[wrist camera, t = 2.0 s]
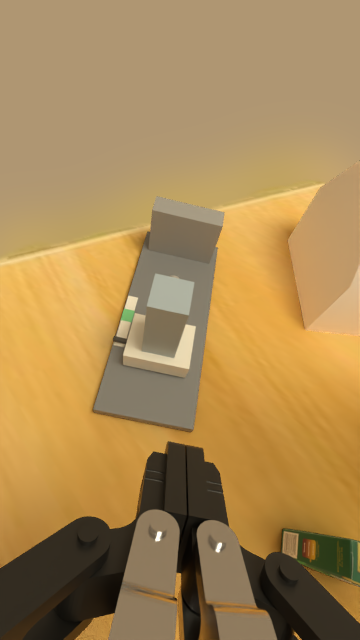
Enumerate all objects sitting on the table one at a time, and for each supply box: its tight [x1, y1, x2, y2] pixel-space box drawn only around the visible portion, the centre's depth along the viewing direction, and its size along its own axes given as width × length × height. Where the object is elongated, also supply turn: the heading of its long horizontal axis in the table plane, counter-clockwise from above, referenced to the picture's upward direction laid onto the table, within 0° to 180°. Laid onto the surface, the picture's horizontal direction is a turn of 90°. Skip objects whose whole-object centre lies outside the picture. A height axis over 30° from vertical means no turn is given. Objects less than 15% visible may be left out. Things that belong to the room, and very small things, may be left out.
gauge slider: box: [113, 273, 196, 378], centre depth 38 cm, size 10×14×13 cm
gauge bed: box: [93, 197, 224, 432], centre depth 42 cm, size 12×30×10 cm, turn 171°
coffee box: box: [281, 528, 360, 587], centre depth 28 cm, size 8×3×13 cm, turn 72°
